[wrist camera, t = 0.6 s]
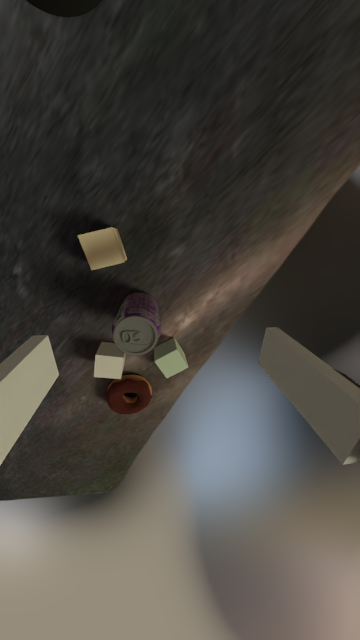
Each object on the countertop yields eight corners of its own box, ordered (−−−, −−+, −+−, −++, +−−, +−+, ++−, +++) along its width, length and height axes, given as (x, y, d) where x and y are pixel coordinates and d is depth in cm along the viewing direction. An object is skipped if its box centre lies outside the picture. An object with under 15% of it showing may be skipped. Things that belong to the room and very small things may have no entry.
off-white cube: (101, 341, 39) (95, 354, 35) (126, 344, 40) (123, 357, 36) (100, 361, 41) (93, 377, 36) (124, 364, 42) (120, 379, 37)
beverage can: (124, 326, 39) (114, 360, 28) (119, 292, 36) (105, 315, 25) (159, 323, 39) (163, 355, 28) (156, 289, 37) (159, 311, 26)
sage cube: (153, 347, 42) (154, 361, 37) (174, 337, 41) (176, 349, 37) (165, 364, 44) (166, 378, 39) (184, 353, 43) (188, 367, 39)
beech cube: (87, 236, 32) (77, 235, 27) (117, 229, 32) (111, 227, 27) (99, 266, 34) (91, 270, 29) (127, 259, 34) (123, 262, 29)
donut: (159, 380, 45) (160, 393, 42) (140, 409, 48) (139, 423, 44) (119, 365, 42) (116, 376, 38) (101, 396, 45) (96, 410, 41)
